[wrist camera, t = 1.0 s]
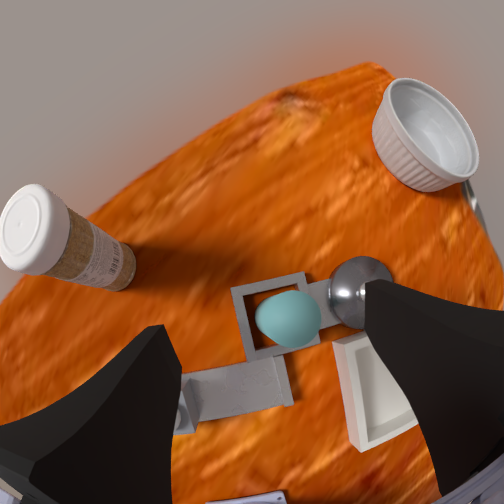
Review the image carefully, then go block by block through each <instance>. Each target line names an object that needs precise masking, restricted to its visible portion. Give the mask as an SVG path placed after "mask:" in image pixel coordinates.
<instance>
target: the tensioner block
mask: <svg viewBox="0 0 504 504" xmlns="http://www.w3.org/2000/svg"><path fill="white" fill-rule="evenodd" d="M377 279H383V280H387V281H390V282H393V279H392V276H391V274H390V273H389V271H388V269H387V268H386V267H385V266H384V265H383V264H382V263H381V262H380V261H378V260H376V259H374V258H371V257H367V256H359V257H355V258H352V259H350V260H348V261H345V262H343V263H342V264H340V265H339V266H338V267H336V268H335V270H334V271H333V272H332V274H331V275H330V277H329V279H326V280H322V281H318V282H315V283H311V284H307V282H306V277H305V273H304V271H303V272H299V273H295V274H291V275H286V276H282V277H278V278H273V279H269V280H264V281H260V282H255V283H251V284H246V285H242V286H237V287H232V288H230V289H231V294H232V299H233V303H234V307H235V312H236V316H237V321H238V325H239V329H240V333H241V338H242V342H243V346H244V350H245V355H246V359H247V362H252V361H256V360H260V359H265V358H269V357H273V356H277V355H281V354H284V353H288V352H292V351H295V350H299V349H303V348H306V347H309V346H313V345H316V344H320V343H321V342H320V338H319V333H317V335H316V336H315V337H314V339H313V340H312V341H310V342H309V343H308V344H306V345H304V346H301V347H297V348H288V347H284V346H281V345H279V344H278V343H276V344H272V345H268V346H264V347H260V348H256V349H255V348H254V344H253V340H252V335H251V331H250V327H249V323H248V318H247V314H246V310H245V305H244V301H243V296H245V295H250V294H254V293H259V292H263V291H268V290H272V289H276V288H281V287H285V286H289V285H293V284H294V286H295V290H296V291H301V292H304V293H306V294H308V295H310V296H311V297H312V298H313V299H314V300H315V301H316V302H317V304H318V306H319V308H320V311H321V326H320V329H323V328H326V327H330V326H333V325H336V324H339V323H340V324H342V325H344V326H346V327H349V328H354V329H364V322H365V283H366V282H370V281H373V280H377ZM393 283H394V282H393ZM320 329H319V330H320Z"/></svg>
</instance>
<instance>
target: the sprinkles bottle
mask: <svg viewBox="0 0 504 504" xmlns="http://www.w3.org/2000/svg"><path fill="white" fill-rule="evenodd" d="M0 256H1V259H2V260H3V262H4V263H5V264H6V265H7V266H8V267H9V268H11V269H12V270H15V271H18V272H21V273H25V274H29V275H47V276H50V277H55V278H57V279H60V280H64V281H69V282H73V283H78V284H82V285H87V286H91V287H97V288H104V289H106V290H108V291H120V290H121V289H124V288H125V287H126V286H128V285H129V283H130V282H131V281H132V279H133V278H134V275H135V271H136V259H135V256H134V254H133V252H132V250H131V249H130V248H129V247H128V246H127V245H126V244H124V243H121V242H119V241H117V240H116V239H114V238H113V237H111V236H110V235H108V234H107V233H106V232H104V231H103V230H101V229H100V228H98V227H97V226H96V225H94V224H92V223H91V222H89V221H88V220H86V219H85V218H83V217H82V216H80V215H78V214H77V213H75V212H74V211H73V210H71V209H70V208H67V206H66V205H65V203H64V202H63V200H62V199H61V198H60V197H58V196H57V195H56V194H54V193H53V192H51V191H50V190H49V189H47V188H46V187H44V186H42V185H39V184H30V185H27V186H24V187H22V188H21V189H19V190H18V191H17V192H16V193H15V194H14V195H13V196H12V197H11V198H10V200H9V201H8V203H7V204H6V206H5V208H4V210H3V212H2V215H1V217H0Z"/></svg>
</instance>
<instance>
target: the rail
mask: <svg viewBox="0 0 504 504" xmlns="http://www.w3.org/2000/svg"><path fill="white" fill-rule="evenodd" d="M187 379H189V381H190V385H191V388H192V392H193V395H194V399H195V402H196V405H197V409H198V412H199V415H200V418H199V421H198V422H200V421H207V420H213V419H219V418H225V417H231V416H236V415H241V414H246V413H250V412H255V411H259V410H264V409H268V408H272V407H276V406H280V405H284V406H285V407H287V406H291V405H294V402H293V397H292V393H291V388H290V384H289V379H288V375H287V371H286V366H285V362H284V358H283V355H282V354H281V355H277V356H273V357H269V358H265V359H260V360H256V361H252V362H247V361H245V362H240V363H235V364H231V365H226V366H221V367H216V368H210V369H205V370H199V371H193V372H187V373H182V379H181V380H187Z"/></svg>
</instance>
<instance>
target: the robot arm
mask: <svg viewBox="0 0 504 504" xmlns="http://www.w3.org/2000/svg"><path fill="white" fill-rule="evenodd" d="M364 330H365V332H366V334H367V336H368V338H369V340H370V342H371V344H372V346H373V348H374V350H375V351H376V353H377V354H378V356H379V357H380V359H381V360H382V362H383V363H384V365H385V366H386V368H387V369H388V370H389V372H390V373H391V375H392V376H393V378H394V379H395V381H396V382H397V384H398V385H399V387H400V388H401V390H402V391H403V393H404V395H405V396H406V398H407V400H408V402H409V404H410V406H411V408H412V410H413V412H414V414H415V416H416V418H417V421H418V423H419V426H420V428H421V430H422V433H423V435H424V438H425V440H426V443H427V446H428V449H429V452H430V455H431V458H432V462H433V465H434V469H435V473H436V477H437V481H438V487H439V491H440V493H441V495H442V498H440V499H439V500H437V501H435V502H433V503H432V504H468V503H469V502H471V501H472V500H473V499H474V500H473V501H472V502H471V504H504V311H499V310H489V309H482V308H477V307H472V306H467V305H462V304H458V303H454V302H451V301H447V300H444V299H440V298H437V297H434V296H431V295H428V294H425V293H422V292H419V291H416V290H413V289H411V288H408V287H405V286H402V285H399V284H396V283H393V282H390V281H387V280H383V279H377V280H373V281H370V282H366V283H365V322H364ZM181 379H182V366H181V364H180V362H179V360H178V357H177V355H176V353H175V351H174V348H173V346H172V344H171V341H170V339H169V337H168V334H167V332H166V329H165V327H164V324H162V325H155V326H148V327H147V328H146V329H144V330H143V331H142V332H141V333H140V334H138V335H137V336H136V337H135V338H134V339H133V340H132V341H131V342H130V343H129V344H128V345H127V346H126V347H125V348H123V349H122V350H121V351H120V352H119V353H118V354H117V355H116V356H115V357H114V358H113V359H112V360H111V361H110V362H108V363H107V364H106V365H105V366H104V367H103V368H102V369H100V370H99V371H98V372H97V373H96V374H95V375H94V376H92V377H91V378H90V379H89V380H87V381H86V382H85V383H84V384H82V385H81V386H79V387H78V388H77V389H75V390H74V391H72V392H71V393H70V394H68V395H66V396H65V397H63V398H61V399H60V400H58V401H56V402H55V403H53V404H51V405H50V406H48V407H46V408H44V409H42V410H40V411H38V412H36V413H34V414H32V415H29V416H27V417H25V418H22V419H20V420H17V421H14V422H11V423H8V424H5V425H1V426H0V478H2V479H3V480H4V481H5V482H6V483H8V484H9V485H10V486H11V487H13V488H14V489H15V490H17V491H18V492H19V493H21V494H22V495H23V497H22V500H19V499H18V498H16V497H14V496H13V495H11V494H10V493H8V492H6V491H5V490H3V489H2V488H0V504H172V494H171V447H172V439H173V433H174V427H175V421H176V416H177V410H178V404H179V399H180V393H181ZM279 497H281V498H279ZM205 504H287V503H286V500H285V496H284V493H283V492H282V491H275V492H271V493H266V494H261V495H256V496H251V497H245V498H239V499H232V500H224V501H215V502H207V503H205Z"/></svg>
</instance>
